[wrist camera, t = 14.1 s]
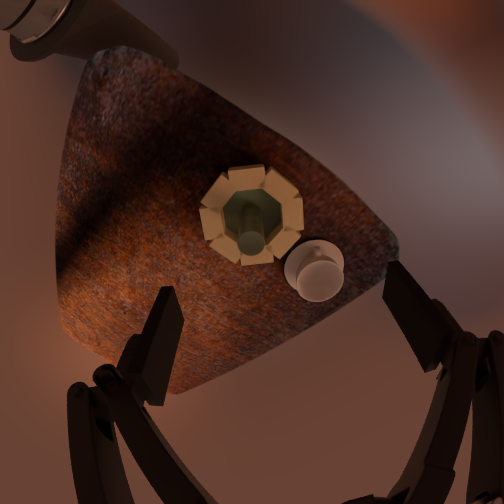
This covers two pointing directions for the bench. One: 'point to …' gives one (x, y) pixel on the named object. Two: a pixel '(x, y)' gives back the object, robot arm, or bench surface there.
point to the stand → (251, 218)
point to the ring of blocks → (248, 180)
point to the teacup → (315, 270)
